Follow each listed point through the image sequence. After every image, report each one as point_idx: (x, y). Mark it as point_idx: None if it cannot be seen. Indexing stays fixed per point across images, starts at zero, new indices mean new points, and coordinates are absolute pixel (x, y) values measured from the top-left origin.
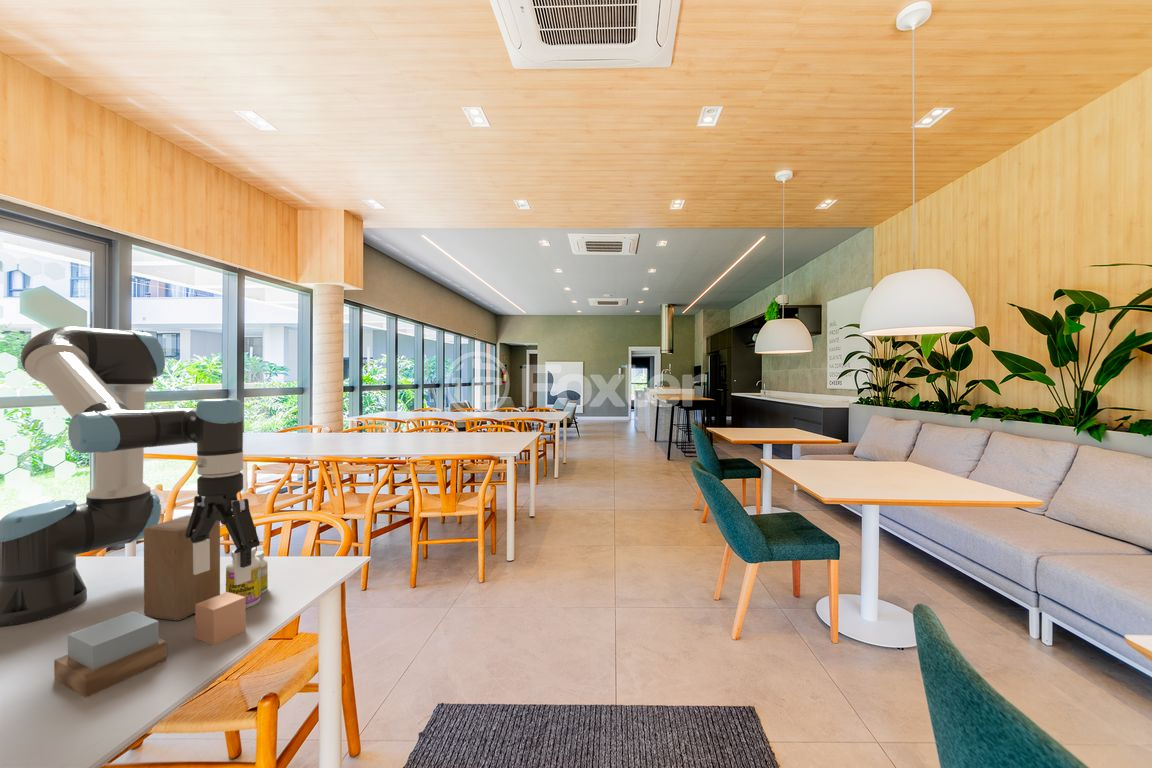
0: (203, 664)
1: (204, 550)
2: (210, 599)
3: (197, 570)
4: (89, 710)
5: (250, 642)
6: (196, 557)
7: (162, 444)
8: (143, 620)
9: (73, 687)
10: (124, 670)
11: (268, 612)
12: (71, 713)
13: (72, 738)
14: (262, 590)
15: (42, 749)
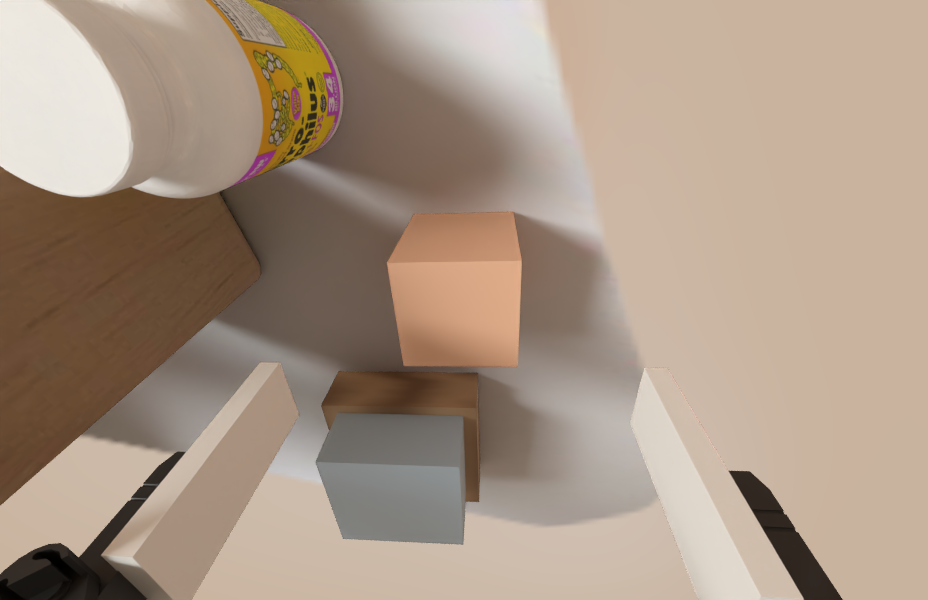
0: (581, 352)
1: (211, 497)
2: (406, 327)
3: (288, 423)
4: (529, 474)
5: (604, 249)
6: (246, 494)
7: None
8: (416, 476)
9: None
10: (478, 443)
11: (457, 82)
12: (510, 483)
13: (584, 500)
14: None
15: (570, 515)
